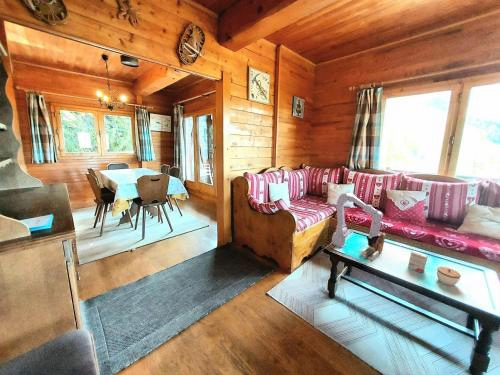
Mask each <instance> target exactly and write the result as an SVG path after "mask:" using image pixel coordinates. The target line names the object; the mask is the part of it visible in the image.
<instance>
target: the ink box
mask: <svg viewBox="0 0 500 375" xmlns="http://www.w3.org/2000/svg"><path fill="white" fill-rule="evenodd" d="M428 256H429V255H428V254H425V253H421V252H419V251H417V250H412V251H411V253H410V256H409V261H408V265H407V268H408V269H411V270H414V271H416V272H419V273H421V274H423V273H424V272H425V268H426V265H427V261H428Z"/></svg>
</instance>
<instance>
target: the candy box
mask: <svg viewBox="0 0 500 375" xmlns="http://www.w3.org/2000/svg"><path fill="white" fill-rule="evenodd" d="M379 234H380V237H379V238H378V240H377V242H376V243H373V244H372V246H368V247H373V248H374V249H375V252H376V251H379V253H383V249H384V244H385V238H386V233H385V232H381V231H379Z"/></svg>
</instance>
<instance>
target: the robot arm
mask: <svg viewBox="0 0 500 375" xmlns="http://www.w3.org/2000/svg"><path fill="white" fill-rule="evenodd" d="M347 202H349V203H352V202H353V203H354V204H356V205H358V206H359V207H361V208H362V210H363V212H365V213H366V214H367V215H369V216H370V217H371V218H372V220H371V225H370V231H369V233H368V235H366V239H367V244H368V245H367V247H369V246H372V244H373V243H376V242H377V240H378V238H379V237H380V234H379V232H380V230H381V225H382V218H383V217H384V213H383V212H382V211H380V210H378V209H375V208H374V207H373V205H372V204H366V203H365V202H363V201H362V200H361V199H359V198H358V197H357V196H356V195H355V194H353V193H352V192H350V191H346V192H344V193H340V195H339V196H338V198H337V200H336V214H337V216H336V217H337V218H336V219H337V225H336V229H335V232H333V234H332V237H331V243H330V244H332V245H334V246H337V247H339V248H344V247H345V246H347V244H346V236H347V234H346V233H347V232H348V230H349V229H348V227H347V223H346V219H345V206H344V205H345V203H347Z"/></svg>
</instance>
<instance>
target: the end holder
mask: <svg viewBox="0 0 500 375" xmlns="http://www.w3.org/2000/svg"><path fill="white" fill-rule="evenodd" d="M367 248H369V246H367V247H365V248H364V249H362V250H361V251H362V255H361V256H362V257H363V258H366V257H367V256H368V255H364V254H365V252H366V251H367ZM378 257H379V251H375V253H374V254H373V256H372V257H370V256H369V257H368V258H367V259H369V260H372V261H375V260H376V259H377V258H378Z"/></svg>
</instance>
